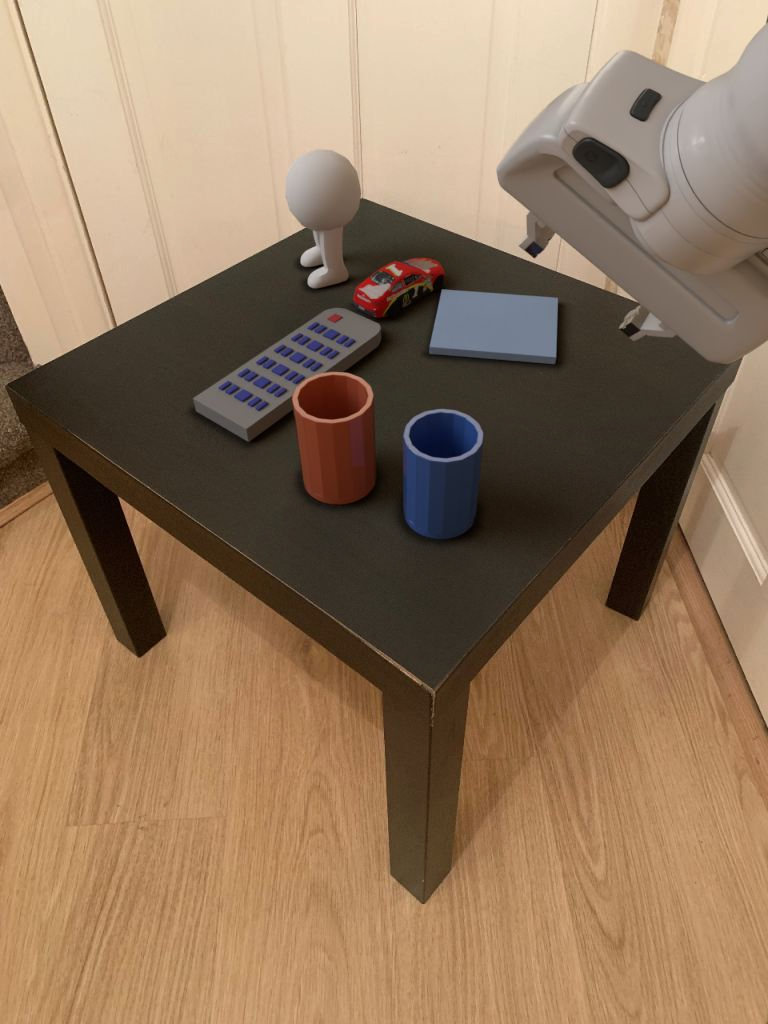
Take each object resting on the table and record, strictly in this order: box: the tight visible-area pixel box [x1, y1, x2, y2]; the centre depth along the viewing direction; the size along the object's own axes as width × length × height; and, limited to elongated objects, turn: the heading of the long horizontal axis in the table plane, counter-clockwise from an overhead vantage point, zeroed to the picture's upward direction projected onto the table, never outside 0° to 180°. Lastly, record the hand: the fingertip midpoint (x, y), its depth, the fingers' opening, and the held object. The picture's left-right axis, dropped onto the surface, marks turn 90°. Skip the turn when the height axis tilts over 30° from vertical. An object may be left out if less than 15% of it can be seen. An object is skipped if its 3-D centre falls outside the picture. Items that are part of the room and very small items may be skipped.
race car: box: [352, 257, 446, 318], centre depth 96 cm, size 13×5×4 cm, turn 134°
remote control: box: [192, 307, 382, 443], centre depth 87 cm, size 8×23×2 cm, turn 141°
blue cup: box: [402, 408, 485, 540], centre depth 69 cm, size 7×7×10 cm
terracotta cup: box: [292, 371, 378, 506], centre depth 72 cm, size 7×7×10 cm
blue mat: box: [428, 289, 559, 365], centre depth 92 cm, size 14×12×1 cm
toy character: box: [285, 148, 362, 289], centre depth 96 cm, size 9×9×15 cm
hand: (580, 287), depth 57 cm, fingers open, 8 cm apart
